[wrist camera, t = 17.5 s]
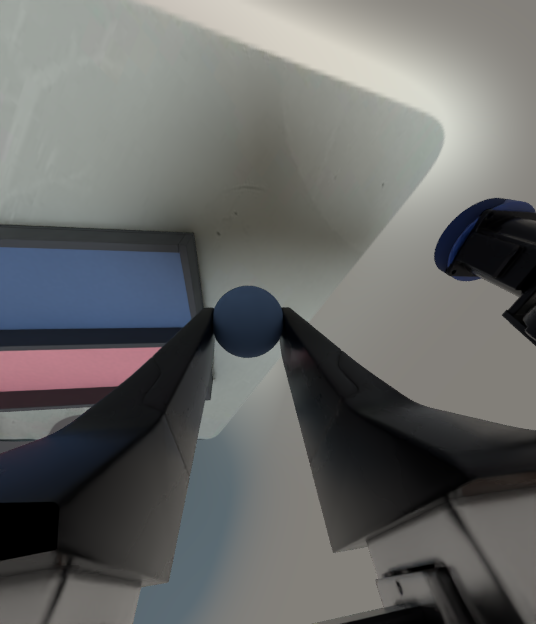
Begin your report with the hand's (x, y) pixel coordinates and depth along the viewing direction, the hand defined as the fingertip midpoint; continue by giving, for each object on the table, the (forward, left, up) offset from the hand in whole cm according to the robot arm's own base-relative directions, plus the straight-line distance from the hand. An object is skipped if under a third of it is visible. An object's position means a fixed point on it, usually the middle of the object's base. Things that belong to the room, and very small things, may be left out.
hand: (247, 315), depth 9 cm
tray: (+20, +10, -11) cm, 25 cm away
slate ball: (0, 0, 0) cm, 0 cm away
